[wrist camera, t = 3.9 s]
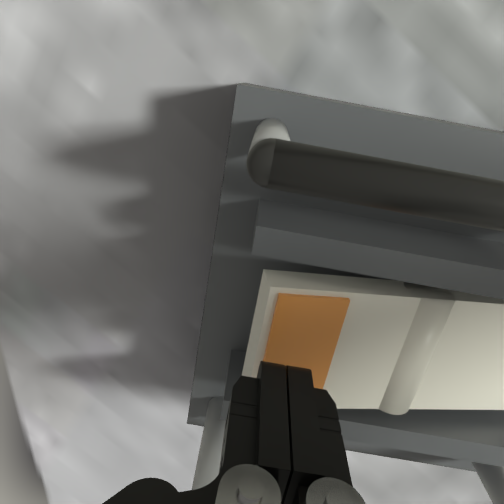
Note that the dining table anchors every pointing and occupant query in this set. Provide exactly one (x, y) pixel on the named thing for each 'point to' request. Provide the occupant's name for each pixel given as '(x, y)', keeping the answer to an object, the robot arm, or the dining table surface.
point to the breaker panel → (352, 249)
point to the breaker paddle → (382, 341)
